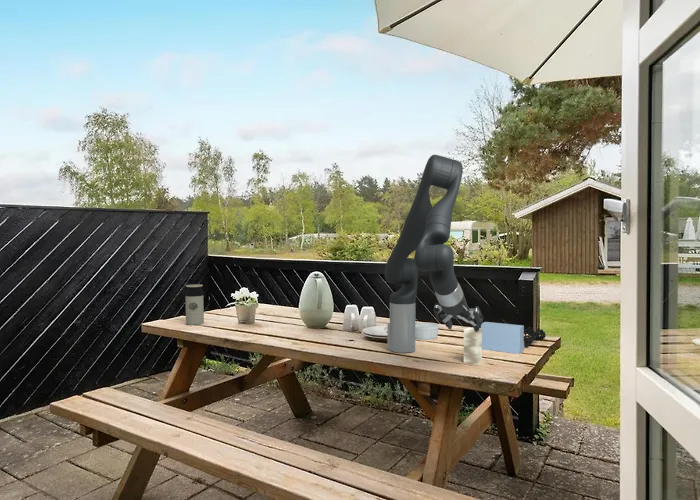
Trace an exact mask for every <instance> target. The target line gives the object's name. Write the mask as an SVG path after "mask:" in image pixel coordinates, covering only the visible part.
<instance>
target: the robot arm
mask: <svg viewBox="0 0 700 500" xmlns="http://www.w3.org/2000/svg"><path fill="white" fill-rule="evenodd" d="M463 170H464V167H463V164H462V163H461V161H459V160H456V159H453V158H450V157H446V156H443V155H439V154H431V155H430V157H429V158H428V160H427V162H426V164H425V167H424V169H423V173H422V175H421V178H420V181H419V182H420V183H419V185H418V188H417V191H416V194H415V198H414V200H413V202H412V203H411V206H410V209H409V212H408V214H407V216H406V218H405V221H404V223H403V226H402V229H401V232H400V234H399V237H398V240H397V242H396V244H395V246H394V247H393V249H392V252H391V254H390V255H389V256H388V257H389V258H388V259H387V262H386V264H385V267H384V278H385V280H386V282H387V283H389V284H392V285H402V286H401V287H400V289H398V290H397V291H395V292H393V293H391V294H390V295H389V322H388V323H387V326H386V328H387V331H386V332H387V335H386V336H387V338H386V339H387V342H386V343H387V346H386V347H387V348H386V349H387V350H388V351H391V352H394V353H402V354H403V353H404V354H405V353H406V354H407V353H412V352H415V351H416V338H415V323H416V298H417V294H418V278H419V277H418V276H419V271H420V272H430V273H429V280H430V284H431V286H432V288H433V291H434V293H435V297H436V299H437V301H438V302H436V303H434V307H433V310H432V311H433V313H434V316H435V319H436V321H438V322H441V321H442V322H443V323H444V325H445V326H446V328H448V330H452V327H453V322H452V319H453V320H461V321H464V322H466V323H467V324H468V323H469V324H471V325H472V328H474V331H475V332H478V331H479V329H481V325H482V323H484V322H483V321H484V318H485V317H484V315H483V314H482V311H481V309H480V307H479V306H476V305H475V306H474V308H471V307H469V306H468V303H467V301H466V297H465V295H464V291H463V289H462V287H461V285H460V283H459V282H458V279H457V276H456V274H455V268H454V265H455V264H454V263H455V255H454V250H453V248H452V247H451V246H450V245H448V244H446V243H447V242H448V241H449V240H450V235H451V226H452V220H453V219H452V218H453V212H454V209H455V205H456V202H457V197H458V194H459V190H460V186H461V182H462V179H463V178H462V177H463V172H464V171H463ZM431 186H433V187H436V188H439V189H443V190H446V193H445V194H444V195H443V197H442V198H440V200H438V201H437V202H435V204H434V205H432V203H431V197H430V188H431ZM413 253H414V257H413V258H412V257H410V255H412V254H413ZM443 313H444V314H443Z"/></svg>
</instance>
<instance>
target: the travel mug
mask: <svg viewBox="0 0 700 500" xmlns="http://www.w3.org/2000/svg"><path fill="white" fill-rule="evenodd" d="M203 286H204V285H203V284H199V283H198V284H197V283H196V284H195V283H194V284H193V283H192V284H186V285H185V287H186V291H185V295H184V296H185V297H184V298H185V324H186V325H189V326H197V325H198V326H199V325H203V324H204V323H205V322H204V321H205V320H204V319H205V313H204V312H205V309H204V307H205V306H204V291H203Z"/></svg>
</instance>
